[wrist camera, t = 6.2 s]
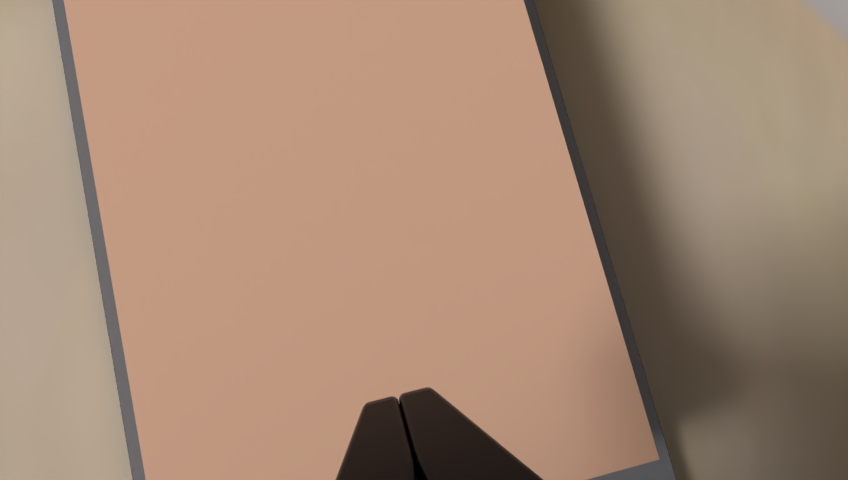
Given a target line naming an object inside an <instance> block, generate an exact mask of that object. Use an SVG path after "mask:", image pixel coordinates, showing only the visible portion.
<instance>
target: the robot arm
mask: <svg viewBox="0 0 848 480" xmlns="http://www.w3.org/2000/svg"><path fill="white" fill-rule="evenodd" d="M335 480H543V479H542V478H541V477H540V476H538V475H537V474H536V473H535V472H533V471H532V470H531V469H530V468H529V467H527V466H526V465H525V464H524V463H523V462H521V461H520V460H519V459H518V458H516V457H515V456H514V455H513V454H512V453H510V452H509V451H508V450H507V449H506V448H504V447H503V446H502V445H501V444H499V443H498V442H497V441H496V440H495V439H493V438H492V437H491V436H490V435H489V434H487V433H486V432H485V431H484V430H482V429H481V428H480V427H479V426H478V425H476V424H475V423H474V422H473V421H471V420H470V419H469V418H468V417H467V416H465V415H464V414H463V413H462V412H461V411H459V410H458V409H457V408H456V407H454V406H453V405H452V404H451V403H450V402H448V401H447V400H446V399H445V398H444V397H442V396H441V395H440V394H439V393H437V392H436V391H435V390H434V389H432V388H430V387H425V388H421V389H417V390H413V391H410V392H406V393H403V394H401V395H400V397H399V401H398V399H397V398H396V397H394V396H390V397H386V398H383V399H379V400H375V401H371V402H368V403H366V404H365V405H364V406H363V408H362V411H361V413H360V416H359V419H358V421H357V424H356V426H355V429H354V432H353V434H352V437H351V440H350V442H349V445H348V448H347V450H346V453H345V456H344V458H343V461H342V464H341V466H340V469H339V472H338V474H337V477H336V479H335Z"/></svg>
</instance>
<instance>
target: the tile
mask: <svg viewBox="0 0 848 480" xmlns="http://www.w3.org/2000/svg"><path fill="white" fill-rule="evenodd" d="M64 5H65V11H66V17H67V23H68V29H69V34H70V40H71V46H72V52H73V58H74V64H75V69H76V75H77V81H78V87H79V93H80V99H81V105H82V110H83V116H84V122H85V128H86V134H87V140H88V145H89V151H90V157H91V163H92V169H93V175H94V181H95V186H96V192H97V198H98V204H99V210H100V216H101V222H102V227H103V233H104V239H105V245H106V251H107V257H108V262H109V268H110V274H111V280H112V286H113V292H114V298H115V303H116V309H117V315H118V321H119V327H120V333H121V338H122V344H123V350H124V356H125V362H126V368H127V374H128V379H129V385H130V391H131V397H132V403H133V409H134V414H135V420H136V426H137V432H138V438H139V444H140V450H141V455H142V461H143V467H144V473H145V479H146V480H335V479H336V477H337V474H338V472H339V469H340V466H341V464H342V461H343V458H344V456H345V453H346V450H347V448H348V445H349V442H350V440H351V437H352V434H353V432H354V429H355V426H356V424H357V421H358V419H359V416H360V413H361V411H362V408H363V406H364V405H365V404H366V403H368V402H371V401H375V400H379V399H383V398H386V397H390V396H394V397H396V398H397V399H398V401H399V397H400V395H401V394H403V393H406V392H410V391H413V390H417V389H421V388H425V387H430V388H432V389H434V390H435V391H436V392H437V393H439V394H440V395H441V396H442V397H444V398H445V399H446V400H447V401H448V402H450V403H451V404H452V405H453V406H454V407H456V408H457V409H458V410H459V411H461V412H462V413H463V414H464V415H465V416H467V417H468V418H469V419H470V420H471V421H473V422H474V423H475V424H476V425H478V426H479V427H480V428H481V429H482V430H484V431H485V432H486V433H487V434H489V435H490V436H491V437H492V438H493V439H495V440H496V441H497V442H498V443H499V444H501V445H502V446H503V447H504V448H506V449H507V450H508V451H509V452H510V453H512V454H513V455H514V456H515V457H516V458H518V459H519V460H520V461H521V462H523V463H524V464H525V465H526V466H527V467H529V468H530V469H531V470H532V471H533V472H535V473H536V474H537V475H538V476H540V477H541V478H542V479H543V480H587V479H591V478H594V477H598V476H602V475H605V474H609V473H612V472H616V471H620V470H623V469H627V468H630V467H634V466H638V465H641V464H645V463H649V462H652V461H656V460H659V456H658V452H657V449H656V446H655V442H654V439H653V435H652V432H651V429H650V425H649V422H648V419H647V415H646V412H645V408H644V405H643V402H642V398H641V395H640V392H639V388H638V385H637V381H636V378H635V375H634V371H633V368H632V365H631V361H630V358H629V354H628V351H627V348H626V344H625V341H624V338H623V334H622V331H621V327H620V324H619V321H618V317H617V314H616V311H615V307H614V304H613V300H612V297H611V294H610V290H609V287H608V284H607V280H606V277H605V273H604V270H603V267H602V263H601V260H600V257H599V253H598V250H597V246H596V243H595V240H594V236H593V233H592V230H591V226H590V223H589V219H588V216H587V213H586V209H585V206H584V202H583V199H582V196H581V192H580V189H579V186H578V182H577V179H576V175H575V172H574V169H573V165H572V162H571V159H570V155H569V152H568V148H567V145H566V142H565V138H564V135H563V132H562V128H561V125H560V121H559V118H558V115H557V111H556V108H555V105H554V101H553V98H552V94H551V91H550V88H549V84H548V81H547V78H546V74H545V71H544V67H543V64H542V61H541V57H540V54H539V51H538V47H537V44H536V40H535V37H534V34H533V30H532V27H531V24H530V20H529V17H528V13H527V10H526V7H525V3H524V0H64Z"/></svg>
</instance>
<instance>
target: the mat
mask: <svg viewBox="0 0 848 480" xmlns="http://www.w3.org/2000/svg"><path fill="white" fill-rule="evenodd" d="M52 2H53V8H54V14H55V20H56V26H57V31H58V37H59V43H60V49H61V55H62V61H63V67H64V73H65V79H66V85H67V91H68V97H69V103H70V109H71V115H72V121H73V127H74V133H75V139H76V145H77V151H78V157H79V162H80V168H81V174H82V180H83V186H84V192H85V198H86V204H87V210H88V216H89V222H90V228H91V234H92V240H93V246H94V252H95V258H96V264H97V270H98V276H99V282H100V288H101V293H102V299H103V305H104V311H105V317H106V323H107V329H108V335H109V341H110V347H111V353H112V359H113V365H114V371H115V377H116V383H117V389H118V395H119V401H120V407H121V413H122V419H123V424H124V430H125V436H126V442H127V448H128V454H129V460H130V466H131V472H132V478H133V480H146V479H145V473H144V467H143V461H142V455H141V450H140V444H139V438H138V432H137V426H136V420H135V414H134V409H133V403H132V397H131V391H130V385H129V379H128V374H127V368H126V362H125V356H124V350H123V344H122V338H121V333H120V327H119V321H118V315H117V309H116V303H115V298H114V292H113V286H112V280H111V274H110V268H109V262H108V257H107V251H106V245H105V239H104V233H103V227H102V222H101V216H100V210H99V204H98V198H97V192H96V186H95V181H94V175H93V169H92V163H91V157H90V151H89V145H88V140H87V134H86V128H85V122H84V116H83V110H82V105H81V99H80V93H79V87H78V81H77V75H76V69H75V64H74V58H73V52H72V46H71V40H70V34H69V29H68V23H67V17H66V11H65V5H64V0H52ZM524 3H525V7H526V10H527V13H528V17H529V20H530V24H531V27H532V30H533V34H534V37H535V40H536V44H537V47H538V51H539V54H540V57H541V61H542V64H543V67H544V71H545V74H546V78H547V81H548V84H549V88H550V91H551V94H552V98H553V101H554V105H555V108H556V111H557V115H558V118H559V121H560V125H561V128H562V132H563V135H564V138H565V142H566V145H567V148H568V152H569V155H570V159H571V162H572V165H573V169H574V172H575V175H576V179H577V182H578V186H579V189H580V192H581V196H582V199H583V202H584V206H585V209H586V213H587V216H588V219H589V223H590V226H591V230H592V233H593V236H594V240H595V243H596V246H597V250H598V253H599V257H600V260H601V263H602V267H603V270H604V273H605V277H606V280H607V284H608V287H609V290H610V294H611V297H612V300H613V304H614V307H615V311H616V314H617V317H618V321H619V324H620V327H621V331H622V334H623V338H624V341H625V344H626V348H627V351H628V354H629V358H630V361H631V365H632V368H633V371H634V375H635V378H636V381H637V385H638V388H639V392H640V395H641V398H642V402H643V405H644V408H645V412H646V415H647V419H648V422H649V425H650V429H651V432H652V435H653V439H654V442H655V446H656V449H657V452H658V456H659V460H656V461H652V462H649V463H645V464H641V465H638V466H634V467H630V468H627V469H623V470H620V471H616V472H612V473H609V474H605V475H602V476H598V477H594V478H591V479H587V480H676V477H675V474H674V471H673V467H672V464H671V461H670V457H669V454H668V451H667V447H666V444H665V441H664V437H663V434H662V431H661V427H660V424H659V421H658V417H657V414H656V411H655V407H654V404H653V400H652V397H651V394H650V390H649V387H648V384H647V380H646V377H645V374H644V370H643V367H642V364H641V360H640V357H639V354H638V350H637V347H636V344H635V340H634V337H633V333H632V330H631V327H630V323H629V320H628V317H627V313H626V310H625V307H624V303H623V300H622V297H621V293H620V290H619V287H618V283H617V280H616V277H615V273H614V270H613V267H612V263H611V260H610V256H609V253H608V250H607V246H606V243H605V240H604V236H603V233H602V230H601V226H600V223H599V220H598V216H597V213H596V210H595V206H594V203H593V200H592V196H591V193H590V190H589V186H588V183H587V179H586V176H585V173H584V169H583V166H582V163H581V159H580V156H579V153H578V149H577V146H576V143H575V139H574V136H573V133H572V129H571V126H570V123H569V119H568V116H567V113H566V109H565V106H564V102H563V99H562V96H561V92H560V89H559V86H558V82H557V79H556V76H555V72H554V69H553V66H552V62H551V59H550V56H549V52H548V49H547V46H546V42H545V39H544V36H543V32H542V29H541V25H540V22H539V19H538V15H537V12H536V9H535V5H534V2H533V0H524Z"/></svg>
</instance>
